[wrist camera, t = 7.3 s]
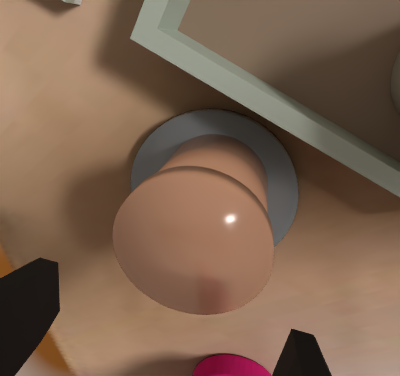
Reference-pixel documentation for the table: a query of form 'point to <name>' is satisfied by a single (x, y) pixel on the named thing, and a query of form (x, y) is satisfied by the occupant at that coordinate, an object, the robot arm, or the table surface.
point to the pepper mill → (229, 367)
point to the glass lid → (73, 1)
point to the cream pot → (396, 83)
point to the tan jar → (199, 228)
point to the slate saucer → (239, 129)
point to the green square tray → (295, 68)
